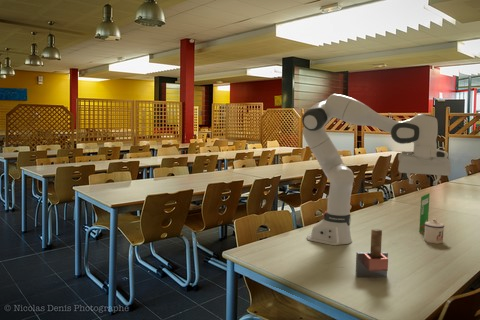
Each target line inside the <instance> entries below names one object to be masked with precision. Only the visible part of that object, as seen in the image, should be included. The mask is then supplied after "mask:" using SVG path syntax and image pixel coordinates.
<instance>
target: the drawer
mask: <svg viewBox="0 0 480 320" xmlns="http://www.w3.org/2000/svg"><path fill="white" fill-rule="evenodd" d="M355 252H356V253H355V254H356V257H355V277H357V278H378V277H379V278H387V277H388V269H389V253H388V251H381V258H370V252H371V251H360V252H359V251H355Z"/></svg>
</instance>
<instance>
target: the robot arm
mask: <svg viewBox="0 0 480 320" xmlns="http://www.w3.org/2000/svg"><path fill="white" fill-rule="evenodd" d="M333 118H334V119H335V118H336V119H338V120H339V121H340V120H341V121H342V122H345V123H347V124H351V125H355V126H366V127H367V126H368V127H373V128H376V129H379V130H381V131H383V132H385V133H389V134H390V135H391V136H390V137H391V138H392V140H393V141H394V142H396V143H397V144H400V145H404V144H411V143H413V151H402V152H400V153H398V155H397V156H398V157H397V158H398V159H397V160H398V169H397V170H398V171H397V172H399V173H401V174H406V177H407V179H408V180H409V181H408V184H409V185H413V184H414V179H412V178H411V174H416V175H417V174H418V175H431V176H432V175H433V176H434V175H435V176H436V180H433V183H432V185H433V186H436V187H437V186H438V182H439V180H440V179H441V177H442V176H447V177H448V176H450V175H451V170H452V169H451V161H450V160H449V153H448V152H447V151H444V150H442V149H438V148H437V147H438V144H437V137H438V132H439V130H438V129H439V128H438V126H439V124H438V119H437V117H435V116H434V115H432V114H431V115H430V114H425V113H418V114H416V115H415V116H413V117H411V118H409V119H406V120H403V121H401V120H396V119H393V118H391V117H389V116H385V115H383V114H380V113H378V112H376V111H375V110H373V109H372V108H371V107H370V106H369V105H366V104H365V103H363V102H361V101H360V100H358V99H355V98H353V97H350V96H347V95H344V94H338V93H332V94H330V95H329V96H328V97H326V99H323V100H319V101H318V102H316V103H314V104H312V105H311V106H310V108H309V109H307V110H306V111H305V112H304V113H303V115H302V117H301V122H302V125H303V129H302V135H303V138H304V140H305V141H306V144H307V146H308V148H309V150H310V151H311V153H312V154H313V156H314V158H315V159H316V161H317V163H318V165H319V166H320V168H321V170H322V171H323V173H324V175H325V176H326V179H328V182H329V189H328V196H327V207H326V208H327V209H326V210H325V211H324V212H323V213H322V214H323V215H322V218H323V219H321V220H320V221H319V222H317V223H315V224H314V225H313V227H312V229H311V232H310V233H308V234H307V237H306V239H307V241H311V242H315V243H321V244H326V245H330V246H339V245H347V244H351V243H353V240H352V236H351V228H350V227H351V220H352V217H351V211H350V210H351V196H352V191H353V185H354V181H355V175H354V172H353V170H352V169H351V168H349V167H348V166H347V165H345V162H344V160H343V159H342V157H341V155H340V153H339V151H338V149H337V147H336V146H335V144H334V143H333V140H332V139H331V137H330V136H329V134H328V133H327V131H326V128H325V127H326V125H327V124H329V122H331V121H332V120H333Z"/></svg>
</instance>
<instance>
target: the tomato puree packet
mask: <svg viewBox="0 0 480 320" xmlns="http://www.w3.org/2000/svg"><path fill="white" fill-rule="evenodd" d="M429 207H430V193H426V194H425V195H422V196H421V197H420V213H419V214H420V215H419V229H418V230H419V231H418V232H419V233H421V232H422V231H425V222H429V209H430V208H429Z"/></svg>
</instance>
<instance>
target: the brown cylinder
mask: <svg viewBox="0 0 480 320" xmlns="http://www.w3.org/2000/svg"><path fill="white" fill-rule="evenodd" d="M370 233H371V234H370V235H371V236H370V238H371V239H370V251H369V252H370V258H381V252H382V237H383V230H382V229H379V228H372V229H371V232H370Z"/></svg>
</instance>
